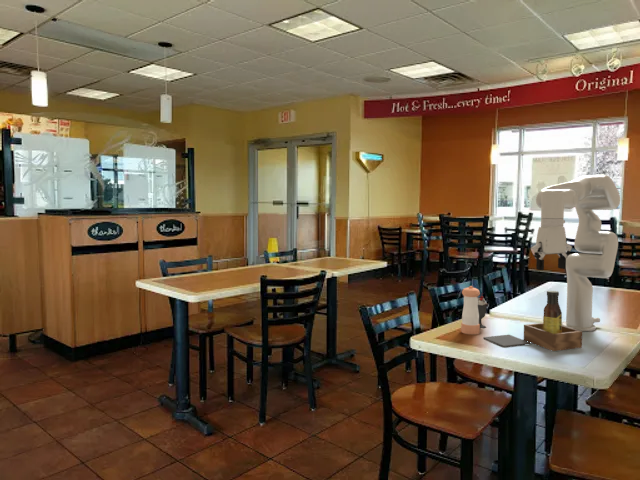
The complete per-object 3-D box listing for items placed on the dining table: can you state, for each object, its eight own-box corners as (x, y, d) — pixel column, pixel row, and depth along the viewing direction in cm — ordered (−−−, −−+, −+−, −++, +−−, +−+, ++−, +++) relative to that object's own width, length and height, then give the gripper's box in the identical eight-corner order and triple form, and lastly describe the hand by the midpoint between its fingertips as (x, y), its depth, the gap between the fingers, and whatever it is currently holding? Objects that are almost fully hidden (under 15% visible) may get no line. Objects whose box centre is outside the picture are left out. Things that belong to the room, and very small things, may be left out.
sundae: (483, 329, 201) (483, 294, 200) (468, 326, 206) (469, 292, 205) (491, 326, 206) (491, 292, 204) (477, 324, 211) (477, 290, 209)
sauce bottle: (563, 346, 176) (565, 293, 175) (545, 345, 178) (546, 292, 176) (558, 341, 183) (559, 290, 181) (540, 340, 184) (542, 289, 183)
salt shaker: (460, 333, 195) (460, 287, 194) (461, 329, 202) (462, 284, 201) (479, 335, 193) (479, 288, 191) (480, 330, 200) (480, 285, 198)
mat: (509, 336, 191) (509, 334, 191) (530, 344, 180) (530, 342, 180) (483, 338, 188) (483, 337, 188) (503, 347, 176) (503, 345, 176)
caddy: (550, 336, 189) (551, 322, 189) (581, 347, 175) (582, 331, 175) (523, 340, 185) (523, 324, 185) (553, 351, 171) (553, 334, 171)
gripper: (563, 222, 183) (562, 266, 185) (525, 223, 179) (524, 269, 180) (579, 223, 176) (577, 269, 177) (539, 224, 171) (538, 271, 173)
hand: (550, 269), depth 179 cm, fingers open, 9 cm apart
